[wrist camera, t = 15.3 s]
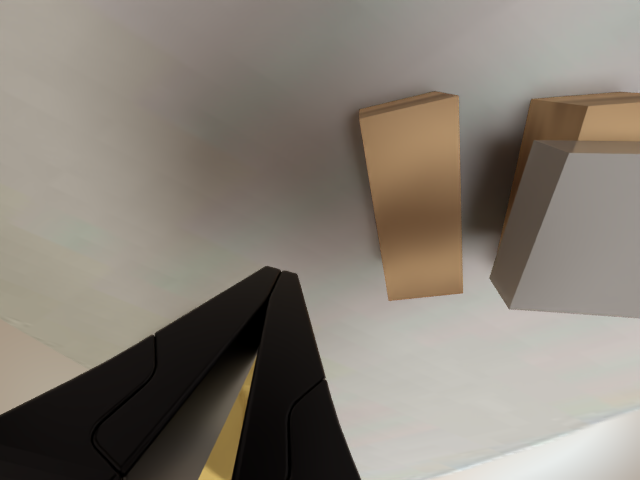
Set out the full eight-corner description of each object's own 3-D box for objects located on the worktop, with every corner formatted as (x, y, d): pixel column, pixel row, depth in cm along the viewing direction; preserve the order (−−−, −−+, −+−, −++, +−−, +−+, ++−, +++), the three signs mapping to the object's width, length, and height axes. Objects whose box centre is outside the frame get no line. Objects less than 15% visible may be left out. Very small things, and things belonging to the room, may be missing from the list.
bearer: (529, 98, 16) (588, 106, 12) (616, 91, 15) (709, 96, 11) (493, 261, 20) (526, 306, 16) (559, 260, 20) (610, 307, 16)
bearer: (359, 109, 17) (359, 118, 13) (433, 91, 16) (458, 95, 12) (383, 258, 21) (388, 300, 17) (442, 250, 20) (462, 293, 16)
